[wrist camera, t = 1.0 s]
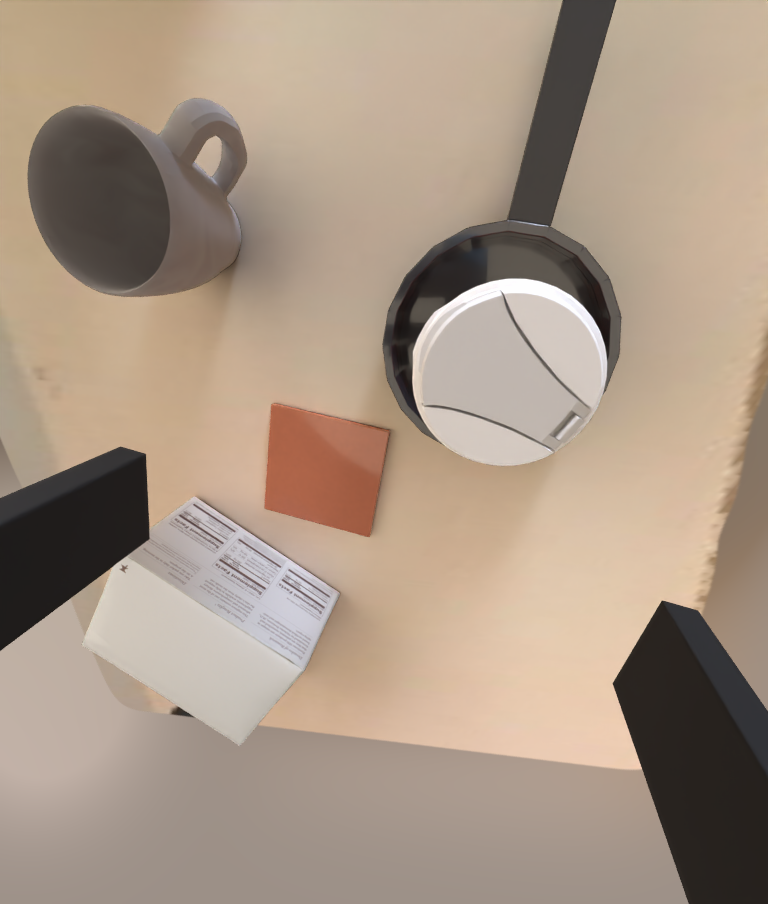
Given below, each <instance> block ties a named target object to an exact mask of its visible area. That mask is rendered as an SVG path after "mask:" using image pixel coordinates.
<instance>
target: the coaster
mask: <svg viewBox="0 0 768 904" xmlns="http://www.w3.org/2000/svg"><path fill="white" fill-rule="evenodd" d="M389 435H390V431H389V430H385V429H381V428H377V427H373V426H368V425H364V424H360V423H356V422H351V421H347V420H343V419H339V418H334V417H330V416H326V415H322V414H318V413H313V412H309V411H305V410H301V409H296V408H292V407H288V406H284V405H279V404H275V403H274V404H272V405H271V419H270V434H269V449H268V464H267V479H266V494H265V509H268V510H271V511H275V512H279V513H282V514H286V515H290V516H293V517H297V518H301V519H304V520H308V521H312V522H315V523H319V524H323V525H326V526H330V527H334V528H337V529H341V530H345V531H348V532H352V533H356V534H359V535H363V536H366V537H370V535H371V530H372V525H373V519H374V514H375V509H376V503H377V498H378V493H379V488H380V482H381V477H382V472H383V466H384V461H385V456H386V450H387V445H388V440H389Z"/></svg>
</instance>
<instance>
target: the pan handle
mask: <svg viewBox="0 0 768 904" xmlns="http://www.w3.org/2000/svg"><path fill="white" fill-rule="evenodd" d="M615 3H616V0H563V1H562V5H561V9H560V13H559V17H558V21H557V25H556V29H555V33H554V37H553V41H552V45H551V48H550V52H549V56H548V60H547V64H546V68H545V72H544V76H543V80H542V84H541V88H540V92H539V96H538V100H537V104H536V108H535V112H534V116H533V120H532V124H531V128H530V132H529V135H528V139H527V143H526V147H525V151H524V155H523V159H522V163H521V167H520V171H519V175H518V179H517V183H516V187H515V191H514V195H513V199H512V203H511V207H510V211H509V215H508V219H507V220H514V221H520V222H526V223H533V224H539V225H545V226H549V227H550V226H551V223H552V220H553V216H554V213H555V209H556V206H557V202H558V199H559V196H560V192H561V189H562V185H563V182H564V178H565V175H566V171H567V168H568V165H569V161H570V158H571V154H572V151H573V147H574V144H575V140H576V137H577V134H578V130H579V127H580V123H581V120H582V116H583V113H584V110H585V106H586V103H587V99H588V96H589V92H590V89H591V85H592V82H593V79H594V75H595V72H596V68H597V65H598V61H599V58H600V54H601V51H602V48H603V44H604V41H605V37H606V34H607V30H608V27H609V24H610V20H611V17H612V13H613V10H614V6H615Z"/></svg>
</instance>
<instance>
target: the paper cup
mask: <svg viewBox="0 0 768 904" xmlns="http://www.w3.org/2000/svg"><path fill="white" fill-rule="evenodd" d="M606 378H607V356H606V349H605V344H604V341H603V338H602V335H601V332H600V330H599V328H598V326H597V325H596V323H595V321H594V319H593V317H592V316H591V315H590V314H589V313H588V311H587V310H586V309H585V308H584V306H583V305H582V304H580V303H579V302H578V301H577V300H576V299H575V298H573V297H572V296H571V295H569V294H568V293H566V292H564V291H562V290H561V289H559V288H557V287H555V286H552V285H549V284H547V283H544V282H541V281H535V280H529V279H503V280H497V281H491V282H488V283H485V284H482V285H479V286H476V287H474V288H472V289H470V290H468V291H466V292H464V293H462V294H461V295H459V296H458V297H456V298H455V299H454V300H452V301H451V302H449V303H448V304H446V305H445V306H443V307H441V308H440V309H438V310H437V311H435V312H434V313H433V315H432V316H431V317H430V319H429V320H428V321H427V322H426V324H425V325H424V327H423V329H422V331H421V333H420V335H419V336H418V339H417V341H416V344H415V347H414V350H413V375H412V384H413V392H414V398H415V401H416V405H417V408H418V411H419V413H420V415H421V417H422V419H423V421H424V423H425V424H426V426H427V427H428V429H429V430H430V432H431V433H432V434H433V435H434V436H435V437H436V438H437V439H438V440H439V441H440V442H441V443H442V444H443V445H445V446H446V447H447V448H448V449H450V450H451V451H453V452H455V453H456V454H458V455H460V456H462V457H464V458H467V459H469V460H472V461H474V462H479V463H483V464H487V465H495V466H517V465H522V464H527V463H531V462H534V461H537V460H540V459H543V458H545V457H547V456H549V455H551V454H553V453H555V452H556V451H558V450H559V449H561V448H562V447H564V446H565V445H566V444H568V443H569V442H570V441H571V440H573V439H574V438H575V437H576V436H577V435H578V434H579V433H580V432H581V431H582V430H583V428H584V427H585V426H586V425H587V423H588V422H589V421H590V420H591V418H592V416H593V414H594V413H595V411H596V409H597V408H598V405H599V403H600V400H601V397H602V395H603V392H604V387H605V383H606Z"/></svg>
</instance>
